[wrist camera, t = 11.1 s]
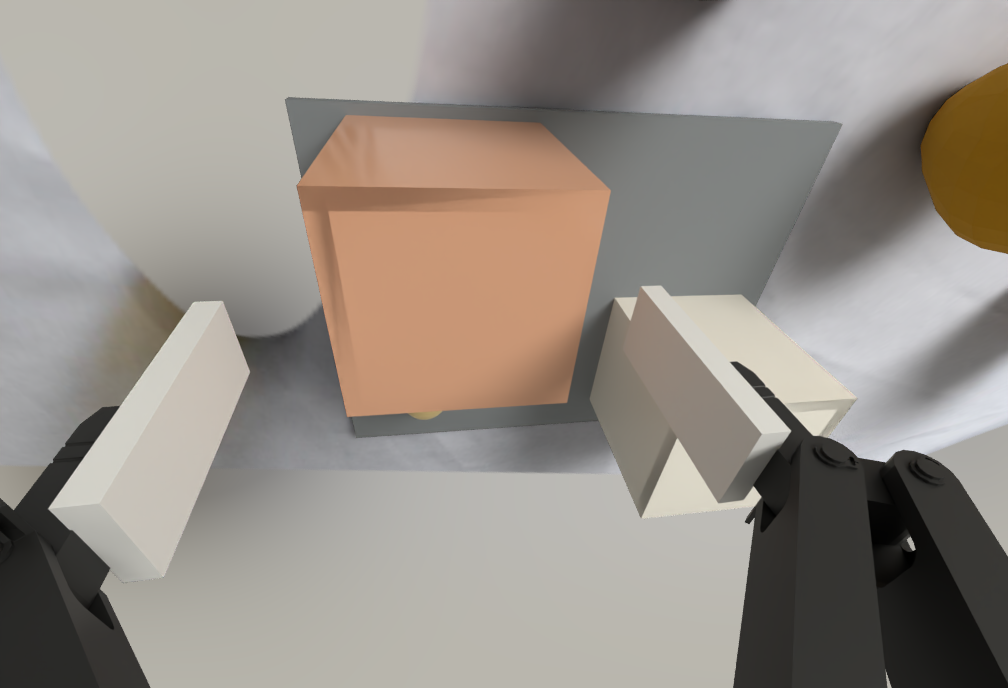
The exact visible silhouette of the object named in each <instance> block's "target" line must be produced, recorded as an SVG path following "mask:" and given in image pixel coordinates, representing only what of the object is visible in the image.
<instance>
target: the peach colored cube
mask: <svg viewBox="0 0 1008 688" xmlns="http://www.w3.org/2000/svg"><path fill="white" fill-rule="evenodd" d="M297 190H298V194H299V199H300V203H301V208H302V212H303V217H304V221H305V226H306V231H307V236H308V240H309V244H310V249H311V254H312V258H313V263H314V268H315V272H316V277H317V281H318V286H319V290H320V295H321V300H322V304H323V309H324V313H325V318H326V323H327V327H328V332H329V336H330V341H331V345H332V350H333V355H334V359H335V364H336V368H337V373H338V377H339V382H340V387H341V391H342V396H343V400H344V405H345V409H346V414H347V417H354V416H370V415H385V414H401V413H416V412H432V411H448V410H463V409H479V408H494V407H510V406H526V405H541V404H557V403H567V400H568V395H569V391H570V386H571V381H572V376H573V371H574V366H575V362H576V357H577V352H578V347H579V342H580V337H581V333H582V328H583V323H584V318H585V313H586V309H587V304H588V299H589V294H590V289H591V284H592V280H593V275H594V270H595V265H596V260H597V255H598V251H599V246H600V241H601V236H602V231H603V226H604V222H605V217H606V212H607V207H608V202H609V198H610V193H611V190H610V189H609V188H608V187H607V186H606V185H605V184H604V183H603V182H602V181H601V180H600V179H599V178H597V177H596V176H595V175H594V174H593V173H592V172H591V171H590V170H589V169H588V168H587V167H586V166H585V165H584V164H583V163H582V162H581V161H580V160H579V159H578V158H577V157H576V156H575V155H574V154H572V153H571V152H570V151H569V150H568V149H567V148H566V147H565V146H564V145H563V144H562V143H561V142H560V141H559V140H558V139H557V138H556V137H555V136H554V135H553V134H552V133H551V132H550V131H549V130H547V129H546V128H545V127H544V126H543V125H542V124H541V123H536V122H511V121H486V120H460V119H435V118H409V117H384V116H359V115H345V117H344V118H343V120H342V121H341V123H340V124H339V126H338V127H337V128H336V130H335V131H334V133H333V134H332V136H331V137H330V138H329V140H328V141H327V143H326V144H325V146H324V147H323V149H322V150H321V151H320V153H319V154H318V156H317V157H316V159H315V160H314V161H313V163H312V164H311V166H310V167H309V169H308V170H307V172H306V173H305V174H304V176H303V177H302V179H301V180H300V182H299V183H298V185H297Z"/></svg>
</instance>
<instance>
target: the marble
mask: <svg viewBox="0 0 1008 688" xmlns="http://www.w3.org/2000/svg"><path fill="white" fill-rule="evenodd" d="M441 412H442V411H432V412H416V413H408V414H409V415H410V416H412V417H414V418H416V419H420V420H428V419H432V418H434V417H436V416H438V415H439V414H440V413H441Z"/></svg>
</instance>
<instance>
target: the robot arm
mask: <svg viewBox="0 0 1008 688" xmlns="http://www.w3.org/2000/svg"><path fill="white" fill-rule="evenodd" d="M623 351H624V352H625V354H626V356H627V357H628V359H629V361H630V362H631V364H632V365H633V367H634V369H635V370H636V372H637V373H638V375H639V377H640V378H641V380H642V381H643V383H644V385H645V386H646V388H647V390H648V391H649V393H650V394H651V396H652V398H653V399H654V401H655V402H656V404H657V406H658V407H659V409H660V410H661V412H662V414H663V415H664V417H665V419H666V420H667V422H668V423H669V425H670V427H671V428H672V430H673V431H674V433H675V435H676V436H677V438H678V440H679V441H680V443H681V444H682V446H683V448H684V449H685V451H686V452H687V454H688V456H689V457H690V459H691V460H692V462H693V464H694V465H695V467H696V469H697V470H698V472H699V473H700V475H701V477H702V478H703V480H704V481H705V483H706V485H707V486H708V488H709V489H710V491H711V493H712V494H713V496H714V498H715V499H716V501H717V502H718V504H719V503H726V502H734V501H741V500H744V499H745V498H746V496H747V495H748V493H749V492H750V491H751V489H752V488H753V486H754V487H755V489H756V490H757V492H758V493H759V494H760V496H761V498H760V500H759V501H758V502H757V504H756V505H755V507H754V508H753V509H752V511H751V512H750V514H749V515H748V516H747V518H746V521H745V522H746V523H748V524H750V522H751V521H752V520H753V518H755V521H754V530H753V537H752V545H751V553H750V561H749V568H748V576H747V584H746V592H745V600H744V608H743V615H742V623H741V631H740V639H739V647H738V654H737V662H736V670H735V678H734V686H733V688H887V681H886V672H887V675H888V678H889V681H890V684H891V687H892V688H1008V556H1007V555H1006V553H1005V552H1004V550H1003V548H1002V547H1001V545H1000V544H999V542H998V541H997V539H996V537H995V536H994V534H993V533H992V531H991V530H990V528H989V527H988V525H987V523H986V522H985V520H984V519H983V517H982V516H981V514H980V512H979V511H978V509H977V508H976V506H975V505H974V503H973V502H972V500H971V498H970V497H969V495H968V494H967V492H966V491H965V489H964V488H963V486H962V484H961V483H960V481H959V480H958V479H957V478H956V476H955V475H954V474H953V473H952V472H951V471H950V470H949V469H948V468H946V467H945V466H944V465H942V464H941V463H940V462H938V461H936V460H935V459H932V458H931V457H928V456H927V455H924V454H921V453H918V452H915V451H908V450H902V451H898V452H896V453H895V454H894V455H893V456H892V457H891V458H890V459H889V460H888V461H887V462H886V463H885V462H879V461H874V460H868V459H862V458H857V456H856V455H855V454H854V453H853V452H852V451H851V450H849V449H848V448H847V447H845V446H844V445H843V444H840V443H838V442H836V441H834V440H832V439H830V438H826V437H822V436H813V435H812V434H811V433H810V432H809V431H808V430H807V429H806V428H805V427H804V425H803V424H802V423H801V422H800V421H799V420H798V419H797V418H796V417H795V416H794V415H793V414H792V413H791V412H790V410H789V409H788V408H787V407H786V406H785V405H784V404H783V403H782V402H781V401H780V400H779V399H778V398H775V394H774V393H773V392H772V391H771V390H770V389H769V388H768V387H765V384H764V383H763V382H762V381H761V379H760V378H759V377H758V376H757V375H756V374H755V373H754V372H753V371H751V370H750V369H748V368H747V367H745V366H744V365H742V364H740V363H739V362H737V361H734V362H729V361H728V360H727V359H726V357H725V356H724V355H723V354H722V353H721V352H720V351H719V350H718V349H717V347H716V346H715V345H714V344H713V343H712V342H711V341H710V340H709V338H708V337H707V336H706V335H705V334H704V333H703V332H702V331H701V330H700V328H699V327H698V326H697V325H696V324H695V323H694V322H693V321H692V319H691V318H690V317H689V316H688V315H687V314H686V313H685V312H684V311H683V309H682V308H681V307H680V306H679V305H678V304H677V303H676V302H675V300H674V299H673V298H672V297H671V296H670V295H669V294H668V293H667V292H666V290H665V289H664V288H663V287H662V286H641V287H640V290H639V294H638V297H637V301H636V304H635V307H634V311H633V314H632V318H631V321H630V325H629V328H628V332H627V335H626V338H625V342H624V345H623ZM249 373H250V371H249V368H248V365H247V363H246V360H245V358H244V355H243V352H242V350H241V347H240V345H239V342H238V339H237V337H236V334H235V331H234V329H233V326H232V324H231V321H230V318H229V316H228V313H227V311H226V308H225V305H224V303H223V301H205V302H193V304H192V305H191V306H190V308H189V309H188V311H187V312H186V314H185V315H184V316H183V318H182V319H181V321H180V322H179V324H178V325H177V326H176V328H175V329H174V331H173V332H172V333H171V335H170V336H169V338H168V339H167V341H166V342H165V343H164V345H163V346H162V348H161V349H160V351H159V352H158V353H157V355H156V356H155V358H154V359H153V360H152V362H151V363H150V365H149V366H148V368H147V369H146V370H145V372H144V373H143V375H142V376H141V378H140V379H139V380H138V382H137V383H136V385H135V386H134V387H133V389H132V390H131V392H130V393H129V395H128V396H127V397H126V399H125V400H124V402H123V403H122V405H121V406H115V407H102V408H101V409H100V410H98V411H97V412H96V413H94V414H93V415H92V416H90V417H89V418H88V419H86V420H85V421H84V422H83V423H81V424H80V425H79V426H78V428H77V429H76V430H75V431H74V433H73V434H72V435H71V437H70V438H69V439H68V441H67V442H66V443H65V444H66V446H65V447H62V448H61V450H60V451H59V452H58V454H57V455H56V456H55V457H54V459H53V463H50V464H49V465H48V467H47V468H46V469H45V471H44V472H43V473H42V475H41V476H40V477H39V478H38V480H37V481H36V482H35V483H34V485H33V486H32V488H31V489H30V490H29V491H28V493H27V494H26V495H25V496H24V498H23V499H22V500H21V502H20V503H19V504H18V506H17V507H16V508H15V510H13V509H11V508H10V507H9V506H8V505H7V504H6V503H5V502H3V500H1V498H0V688H150V686H149V684H148V682H147V679H146V677H145V675H144V673H143V671H142V669H141V667H140V665H139V663H138V661H137V658H136V657H135V654H134V652H133V650H132V648H131V646H130V644H129V642H128V640H127V637H126V636H125V633H124V631H123V629H122V627H121V625H120V623H119V621H118V619H117V616H116V615H115V612H114V610H113V608H112V606H111V604H110V602H109V600H108V598H107V595H105V594H104V593H103V592H102V591H101V590H100V587H101V585H102V583H103V581H104V580H105V577H106V576H107V573H108V572H109V570H110V571H111V572H112V573H113V574H114V575H115V576H116V577H117V578H118V579H119V580H120V581H121V582H122V583H128V582H135V581H143V580H150V579H158V578H164V576H165V574H166V571H167V569H168V566H169V564H170V562H171V559H172V557H173V555H174V552H175V550H176V548H177V545H178V543H179V540H180V538H181V535H182V533H183V530H184V528H185V526H186V524H187V521H188V519H189V517H190V514H191V511H192V509H193V507H194V504H195V502H196V500H197V497H198V495H199V493H200V490H201V488H202V486H203V483H204V481H205V478H206V476H207V473H208V471H209V469H210V466H211V464H212V462H213V459H214V457H215V455H216V452H217V450H218V447H219V445H220V443H221V440H222V438H223V435H224V433H225V431H226V428H227V426H228V424H229V421H230V419H231V416H232V414H233V412H234V409H235V407H236V404H237V402H238V400H239V397H240V395H241V393H242V390H243V388H244V385H245V383H246V381H247V378H248V376H249ZM910 536H911V538H912V540H913V542H914V545H915V549H916V550H914V551H912V549H911V548H910V546H909V544H908V542H907V539H908V538H909V537H910ZM885 669H886V671H885Z"/></svg>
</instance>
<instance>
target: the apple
mask: <svg viewBox="0 0 1008 688" xmlns="http://www.w3.org/2000/svg"><path fill="white" fill-rule="evenodd" d="M921 158H922V173H923V176H924V178H925V181H926V184H927V187H928V190H929V192H930V195H931V198H932V201H933V204H934V206H935V209H936V211H937V212H938V213H939V215H940V216H941V217H942V218H943V220H944V221H945V222H946V223H947V225H948V226H949V227H950V228H951V229H952V231H953V232H954V233H955V234H956V235H957V236H959V237H961V238H963V239H964V240H966V241H968V242H970V243H972V244H974V245H976V246H978V247H980V248H983V249H988V250H992V251H997V252H1002V253H1006V254H1008V63H1007V64H1005V65H1003V66H1000V67H998V68H996V69H994V70H993V71H991V72H989V73H987V74H986V75H984V76H982V77H980V78H979V79H977V80H975V81H973V82H972V83H970V84H968V85H966V86H965V87H964V88H962V89H961V90H960V91H958V92H957V93H956V94H954V95H953V96H952V97H950V98H949V99H948V100H946V102H945V103H944V104H943V106H942V107H941V108H940V109H939V111H938V112H937V113H936V115H935V116H934V117H933V118H932V120H931V121H930V123H929V125H928V128H927V130H926V133H925V135H924V138H923V140H922V143H921Z"/></svg>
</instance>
